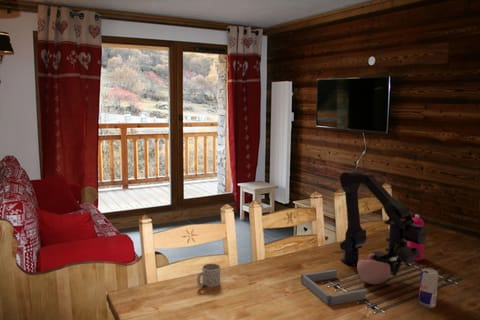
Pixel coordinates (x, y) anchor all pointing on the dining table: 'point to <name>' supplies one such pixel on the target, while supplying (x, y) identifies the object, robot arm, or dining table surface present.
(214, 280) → the mug
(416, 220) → the pepper mill
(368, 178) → the robot arm
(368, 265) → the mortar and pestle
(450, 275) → the dining table surface
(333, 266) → the dining table surface
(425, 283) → the energy drink
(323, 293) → the grey frame
